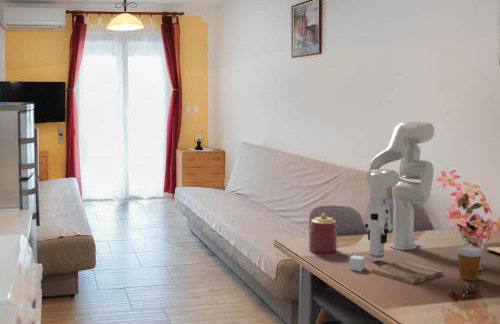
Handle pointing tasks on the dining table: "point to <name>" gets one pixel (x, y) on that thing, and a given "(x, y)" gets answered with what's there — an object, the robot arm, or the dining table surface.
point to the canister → (323, 235)
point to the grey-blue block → (356, 263)
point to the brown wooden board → (407, 272)
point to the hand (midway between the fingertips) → (377, 240)
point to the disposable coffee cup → (469, 262)
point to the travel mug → (375, 238)
